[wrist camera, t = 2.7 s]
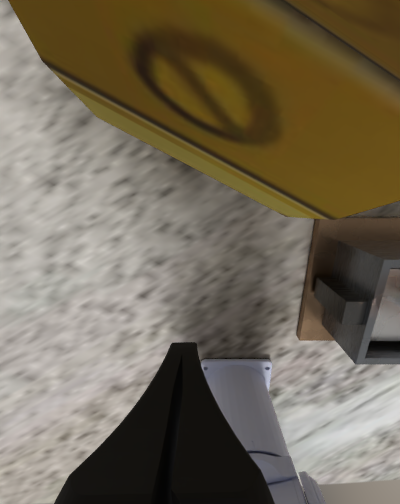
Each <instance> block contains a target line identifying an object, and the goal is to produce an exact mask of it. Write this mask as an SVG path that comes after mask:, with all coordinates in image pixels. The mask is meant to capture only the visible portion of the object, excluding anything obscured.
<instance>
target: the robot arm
mask: <svg viewBox="0 0 400 504" xmlns="http://www.w3.org/2000/svg"><path fill="white" fill-rule="evenodd" d="M205 367H206V368H205ZM266 367H267V368H266ZM271 370H272V362H271V360H269V359H204V360H202V361H201V363H200V360H199V356H198V351H197V344H196V343H195V342H184V343H172V344H171V345H170V348H169V350H168V353H167V355H166V357H165V359H164V361H163V363H162V365H161V366H160V368H159V370H158V372H157V373H156V375H155V377H154V378H153V380H152V382H151V383H150V385H149V386H148V388H147V389H146V391H145V392H144V394H143V395H142V397H141V398H140V400H139V401H138V402H137V404H136V405H135V406H134V408H133V409H132V410H131V411H130V413H129V414H128V415H127V416H126V417H125V419H124V420H123V421H122V422H121V423H120V425H119V426H118V427H117V428H116V429H115V430H114V431H113V432H112V433H111V435H110V436H109V437H108V438H107V439H106V440H105V441H104V442H103V443H102V444H101V445H100V446H99V447H98V448H97V449H96V450H95V451H94V452H93V453H92V454H91V455H90V456H89V457H88V458H87V459H86V460H85V461H84V462H83V463H82V464H81V465H80V466H79V467H78V468H76V469H75V470H74V471H73V472H72V473H71V474H70V475H69V477H68V479H67V480H66V482H65V484H64V486H63V488H62V490H61V492H60V493H59V495H58V497H57V499H56V501H55V503H54V504H307V503H306V500H305V497H306V499H307V502H308V504H326V502H325V500H324V498H323V495H322V493H321V490H320V488H319V486H318V484H317V482H316V481H315V480H314V479H313V478H312V477H310V476H308V474H307V473H306V472H304V471H303V472H299V476H300V479H301V482H302V485H303V487H304V490H305V491H304V493H305V497H304V494H303V491H302V488H301V485H300V482H299V479H298V476H297V473H296V471H295V468H294V465H293V462H292V459H291V457H290V456H289V453H288V450H287V447H286V443H285V440H284V437H283V434H282V431H281V428H280V425H279V422H278V419H277V416H276V413H275V410H274V407H273V404H272V401H271V398H270V395H269V386H270V378H271Z"/></svg>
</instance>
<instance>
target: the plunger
mask: <svg viewBox="0 0 400 504" xmlns="http://www.w3.org/2000/svg"><path fill="white" fill-rule="evenodd" d="M370 341H400V268H391V269H390V272H389V276H388V279H387V283H386V286H385V290H384V293H383V297H382V300H381V304H380V307H379V311H378V314H377V318H376V321H375V325H374V328H373V332H372V335H371V339H370Z"/></svg>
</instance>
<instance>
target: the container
mask: <svg viewBox="0 0 400 504" xmlns="http://www.w3.org/2000/svg"><path fill="white" fill-rule="evenodd" d="M8 1H9V2H10V4H11V6H12V8H13V10H14V11H15V13H16V15H17V17H18V19H19V20H20V22H21V24H22V26H23V27H24V29H25V31H26V33H27V35H28V36H29V38H30V40H31V42H32V44H33V45H34V47H35V49H36V51H37V52H38V54H39V56H40V58H41V60H42V61H43V62H44V63H45V64H46V65H47V66H48V67H49V68H50V69H51V70H52V71H53V72H54V73H55V74H56V75H57V76H58V78H59V79H60V80H61V81H62V82H63V83H64V84H65V85H66V86H67V87H68V88H69V89H70V90H71V91H72V92H73V93H74V94H75V95H76V96H77V97H78V98H79V99H80V100H81V101H82V102H83V103H84V104H85V105H86V106H87V107H88V108H89V109H90V110H91V111H92V112H93V113H94V114H95V115H96V117H98V118H100V119H102V120H104V121H105V122H107V123H109V124H111V125H113V126H115V127H117V128H119V129H121V130H123V131H124V132H126V133H128V134H130V135H132V136H134V137H136V138H138V139H140V140H141V141H143V142H145V143H147V144H149V145H151V146H153V147H155V148H157V149H159V150H160V151H162V152H164V153H166V154H168V155H170V156H172V157H174V158H176V159H178V160H179V161H181V162H183V163H185V164H187V165H189V166H191V167H193V168H195V169H197V170H198V171H200V172H202V173H204V174H206V175H208V176H210V177H212V178H214V179H215V180H217V181H219V182H221V183H223V184H225V185H227V186H229V187H231V188H233V189H234V190H236V191H238V192H240V193H242V194H244V195H246V196H248V197H250V198H252V199H253V200H255V201H257V202H259V203H261V204H263V205H265V206H267V207H269V208H271V209H272V210H274V211H276V212H278V213H280V214H282V215H284V216H286V217H298V218H313V219H328V220H336V219H340V218H343V217H346V216H350V215H353V214H357V213H360V212H363V211H367V210H370V209H373V208H377V207H380V206H384V205H387V204H390V203H394V202H397V201H400V0H8Z"/></svg>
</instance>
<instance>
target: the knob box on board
mask: <svg viewBox="0 0 400 504" xmlns="http://www.w3.org/2000/svg"><path fill="white" fill-rule="evenodd" d="M391 268H400V217H343V218H340V219H336V220H328V219H315V224H314V230H313V237H312V243H311V249H310V255H309V261H308V268H307V274H306V280H305V286H304V292H303V299H302V305H301V311H300V317H299V323H298V329H297V337H298V339H299V340H335V341H336V342H337V343H338V344H339V345H340V346H341V348H342V349H343V350H344V351H345V352H346V354H347V355H348V356H349V357H350V358H351V359H352V361H353V362H354V363H355V364H400V341H370V339H371V335H372V332H373V328H374V325H375V321H376V318H377V314H378V311H379V307H380V304H381V300H382V297H383V293H384V290H385V286H386V283H387V279H388V276H389V272H390V269H391Z"/></svg>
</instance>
